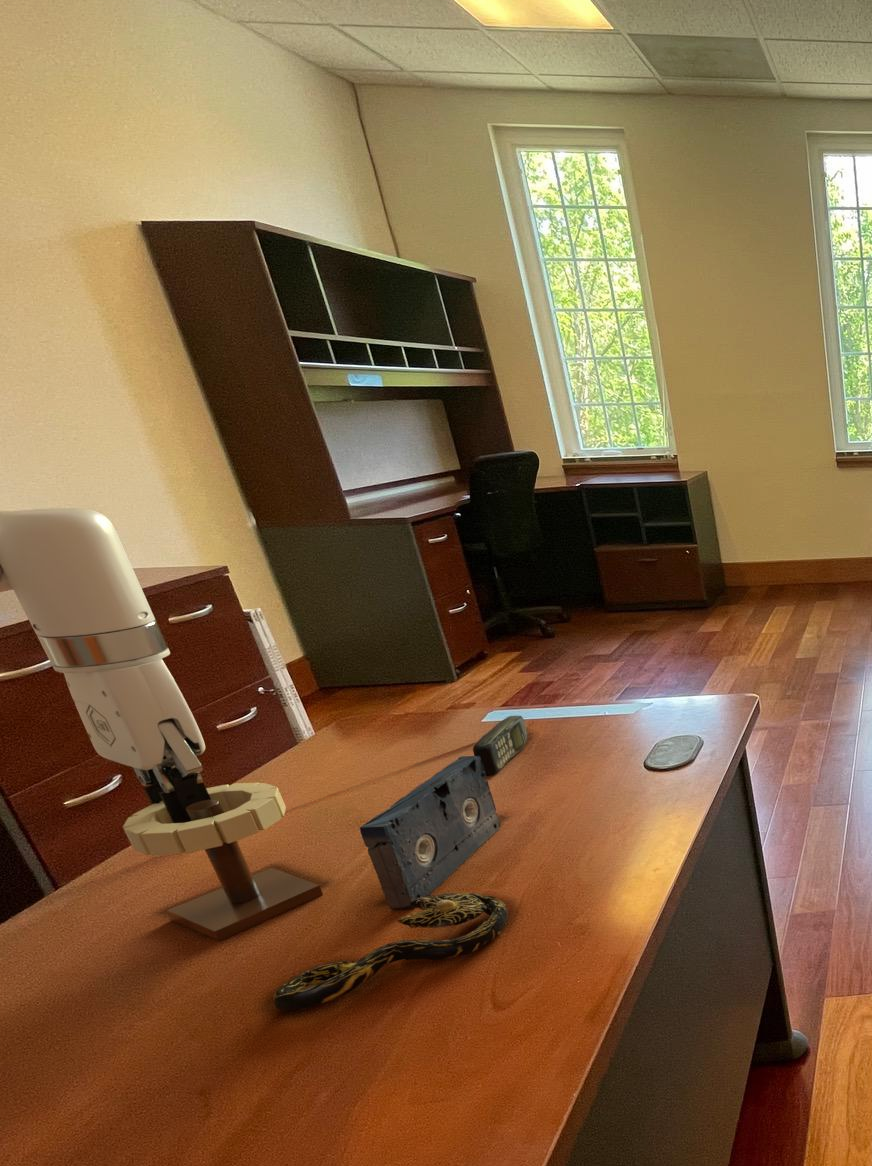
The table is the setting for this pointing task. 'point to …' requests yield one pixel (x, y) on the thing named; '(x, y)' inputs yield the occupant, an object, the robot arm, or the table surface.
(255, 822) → the cream segmented ring
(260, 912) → the post
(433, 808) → the vhs cassette tape
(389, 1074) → the table surface
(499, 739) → the mobile phone
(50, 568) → the robot arm
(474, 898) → the rubber snake
